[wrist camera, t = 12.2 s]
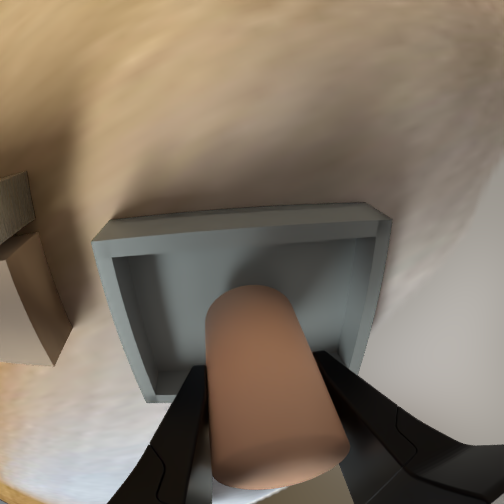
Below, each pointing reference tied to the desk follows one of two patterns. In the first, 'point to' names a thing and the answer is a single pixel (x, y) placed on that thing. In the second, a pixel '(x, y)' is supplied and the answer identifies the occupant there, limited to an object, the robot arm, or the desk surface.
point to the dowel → (266, 395)
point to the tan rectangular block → (29, 305)
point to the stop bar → (14, 205)
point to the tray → (239, 279)
